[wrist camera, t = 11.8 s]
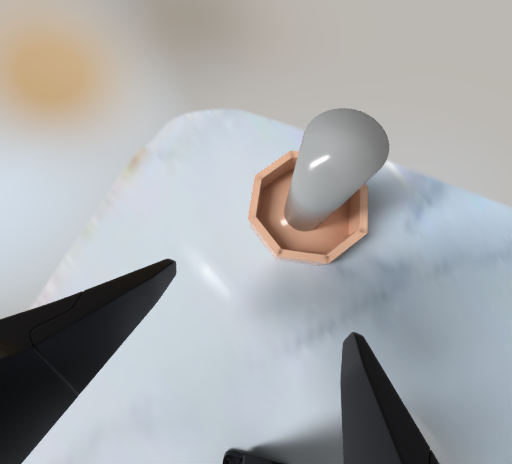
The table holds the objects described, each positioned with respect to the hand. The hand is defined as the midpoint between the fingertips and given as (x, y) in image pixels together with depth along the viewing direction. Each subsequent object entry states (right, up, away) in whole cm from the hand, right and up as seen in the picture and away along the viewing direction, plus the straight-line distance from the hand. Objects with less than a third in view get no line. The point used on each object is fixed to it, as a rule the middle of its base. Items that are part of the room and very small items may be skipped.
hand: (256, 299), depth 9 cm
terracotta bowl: (+6, +6, +15) cm, 17 cm away
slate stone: (+6, +6, +14) cm, 16 cm away
